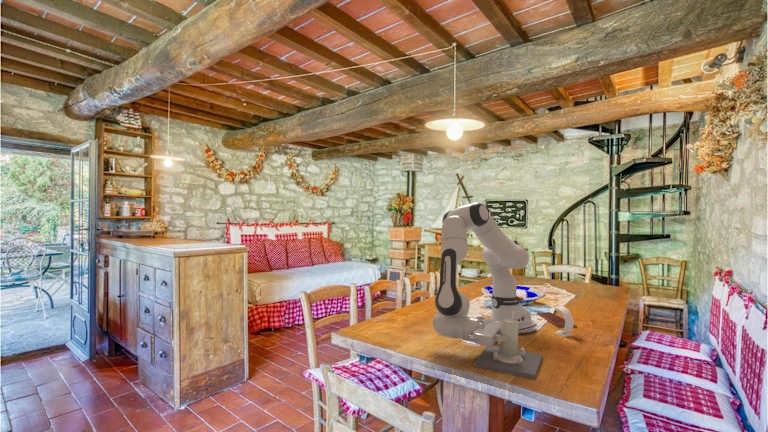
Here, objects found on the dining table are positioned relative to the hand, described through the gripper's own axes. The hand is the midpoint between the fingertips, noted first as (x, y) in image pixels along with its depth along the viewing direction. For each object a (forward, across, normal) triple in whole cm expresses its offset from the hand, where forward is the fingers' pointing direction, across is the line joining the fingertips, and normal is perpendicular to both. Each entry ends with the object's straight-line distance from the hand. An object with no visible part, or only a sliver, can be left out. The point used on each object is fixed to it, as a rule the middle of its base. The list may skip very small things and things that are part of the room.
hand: (511, 336), depth 132 cm
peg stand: (-1, 0, +10) cm, 10 cm away
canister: (-1, 0, +7) cm, 7 cm away
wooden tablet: (+9, +67, +10) cm, 68 cm away
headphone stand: (+14, +43, +10) cm, 47 cm away
